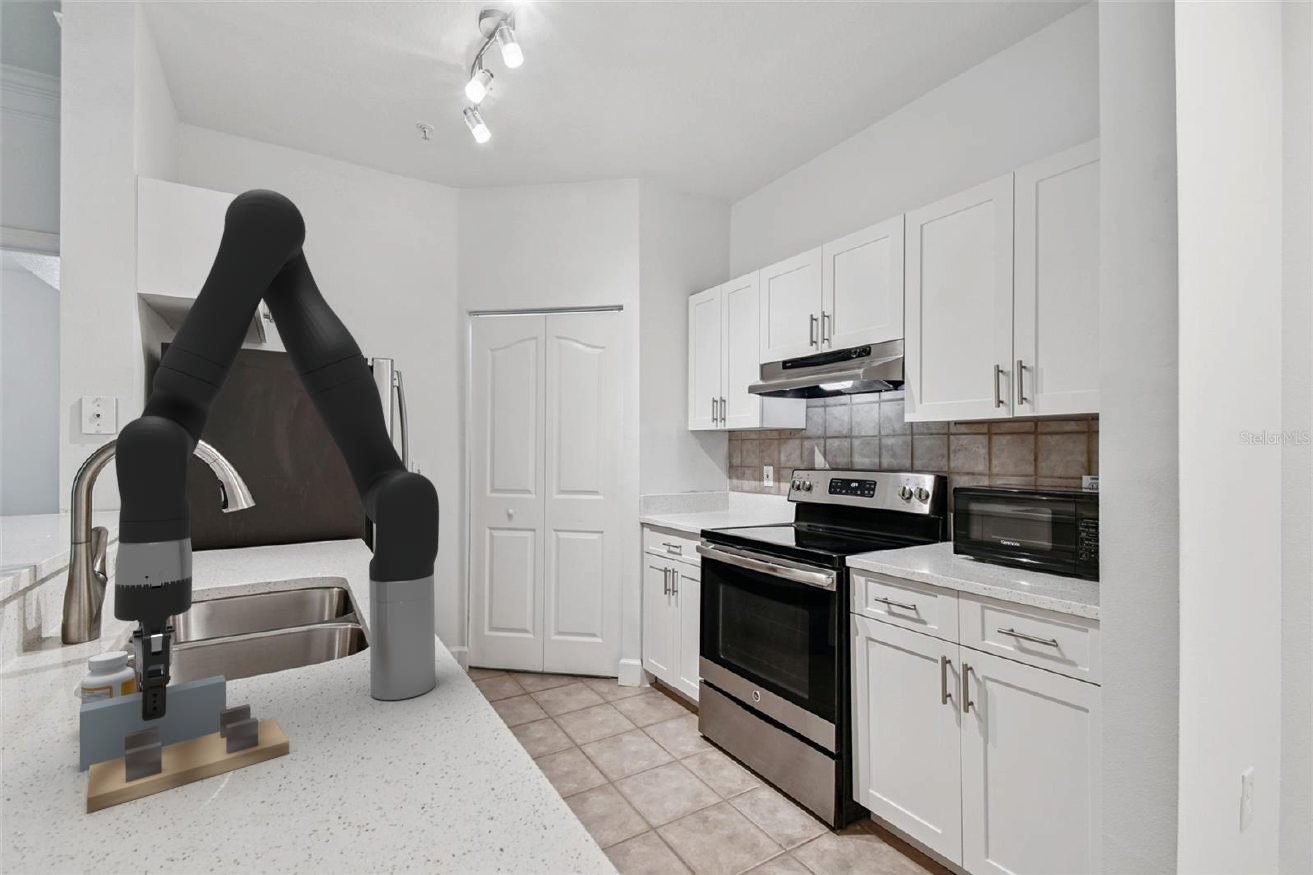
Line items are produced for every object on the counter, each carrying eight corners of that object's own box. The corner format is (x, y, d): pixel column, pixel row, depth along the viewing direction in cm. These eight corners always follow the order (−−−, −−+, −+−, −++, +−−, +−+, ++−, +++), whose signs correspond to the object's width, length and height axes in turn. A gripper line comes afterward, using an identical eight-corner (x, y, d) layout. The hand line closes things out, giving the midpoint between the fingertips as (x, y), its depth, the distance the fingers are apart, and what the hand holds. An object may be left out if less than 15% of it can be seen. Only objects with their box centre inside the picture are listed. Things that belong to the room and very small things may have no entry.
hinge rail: (274, 729, 82) (274, 694, 82) (289, 753, 75) (288, 715, 75) (89, 779, 70) (89, 738, 70) (87, 813, 63) (87, 768, 63)
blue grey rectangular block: (223, 727, 83) (223, 674, 83) (226, 734, 81) (226, 680, 81) (80, 763, 74) (80, 704, 74) (79, 773, 71) (79, 712, 72)
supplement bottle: (125, 716, 87) (125, 646, 87) (142, 724, 84) (141, 652, 84) (74, 732, 82) (74, 658, 82) (90, 741, 79) (90, 665, 79)
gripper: (114, 572, 80) (111, 699, 80) (115, 589, 70) (111, 736, 69) (186, 565, 85) (184, 684, 85) (198, 580, 75) (195, 717, 74)
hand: (151, 707), depth 77 cm, fingers open, 8 cm apart
